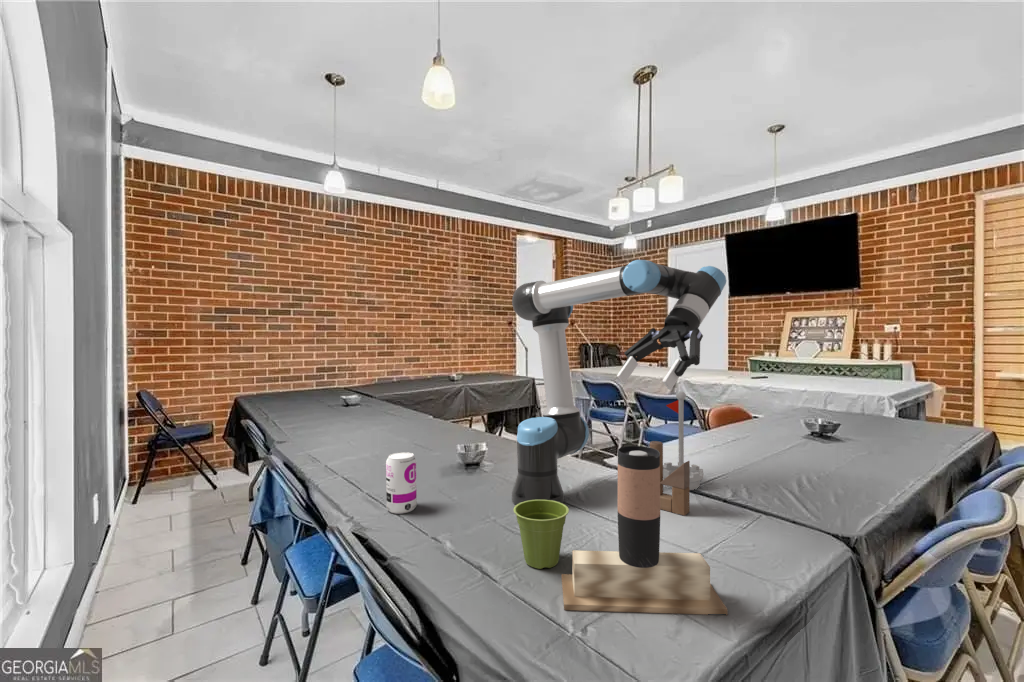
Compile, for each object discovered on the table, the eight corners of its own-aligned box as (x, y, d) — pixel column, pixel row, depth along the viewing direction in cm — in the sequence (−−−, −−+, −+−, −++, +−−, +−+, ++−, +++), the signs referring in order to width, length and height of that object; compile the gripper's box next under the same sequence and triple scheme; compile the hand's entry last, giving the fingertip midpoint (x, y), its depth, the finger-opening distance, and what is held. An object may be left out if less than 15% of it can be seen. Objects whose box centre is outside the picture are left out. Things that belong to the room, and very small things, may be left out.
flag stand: (709, 484, 144) (709, 391, 144) (692, 494, 135) (692, 395, 135) (670, 475, 154) (670, 387, 153) (652, 484, 144) (652, 391, 144)
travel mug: (612, 549, 87) (611, 446, 86) (650, 547, 87) (650, 445, 87) (625, 570, 79) (625, 457, 79) (667, 567, 80) (667, 455, 79)
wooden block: (684, 516, 119) (684, 448, 119) (646, 506, 126) (646, 442, 126) (690, 512, 122) (690, 446, 121) (652, 502, 129) (652, 440, 129)
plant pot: (571, 550, 101) (571, 500, 101) (565, 578, 89) (565, 522, 89) (520, 545, 103) (519, 496, 103) (508, 572, 92) (507, 517, 92)
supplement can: (422, 505, 128) (421, 453, 128) (403, 516, 120) (403, 461, 120) (399, 501, 131) (399, 450, 131) (380, 511, 124) (379, 457, 124)
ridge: (564, 609, 79) (563, 570, 79) (561, 579, 89) (561, 544, 89) (727, 615, 77) (727, 574, 77) (706, 582, 87) (706, 547, 87)
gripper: (741, 327, 100) (697, 400, 93) (653, 328, 121) (612, 387, 114) (726, 303, 97) (680, 375, 90) (639, 308, 119) (596, 367, 111)
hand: (642, 382), depth 102 cm, fingers open, 13 cm apart
